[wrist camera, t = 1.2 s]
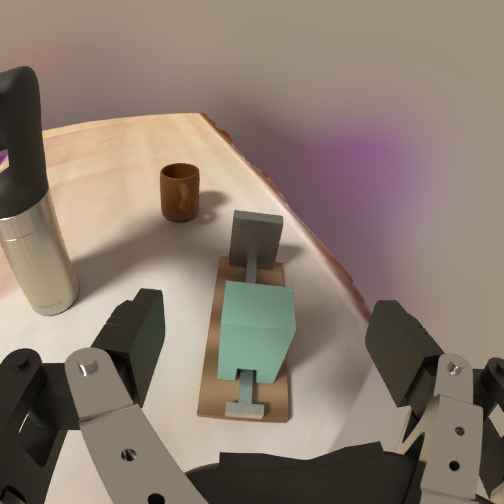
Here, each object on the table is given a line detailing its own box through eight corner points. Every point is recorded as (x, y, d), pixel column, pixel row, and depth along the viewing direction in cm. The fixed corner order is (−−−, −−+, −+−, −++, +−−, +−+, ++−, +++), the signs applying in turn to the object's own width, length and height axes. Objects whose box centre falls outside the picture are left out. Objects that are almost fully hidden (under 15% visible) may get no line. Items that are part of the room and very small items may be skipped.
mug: (207, 234, 54) (209, 188, 48) (166, 239, 51) (163, 193, 45) (194, 201, 62) (196, 161, 56) (160, 205, 60) (158, 164, 54)
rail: (275, 419, 28) (295, 389, 22) (210, 414, 28) (211, 382, 22) (272, 262, 48) (282, 216, 42) (229, 257, 48) (234, 210, 42)
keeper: (273, 383, 31) (296, 330, 24) (217, 378, 31) (220, 323, 24) (272, 347, 35) (292, 287, 28) (221, 343, 35) (226, 280, 28)
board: (286, 422, 29) (288, 419, 28) (197, 416, 29) (197, 413, 28) (280, 268, 49) (281, 263, 48) (220, 261, 48) (220, 256, 48)
